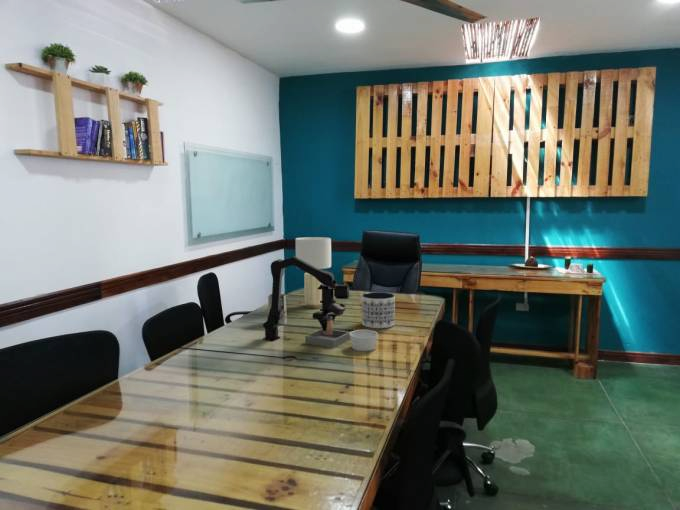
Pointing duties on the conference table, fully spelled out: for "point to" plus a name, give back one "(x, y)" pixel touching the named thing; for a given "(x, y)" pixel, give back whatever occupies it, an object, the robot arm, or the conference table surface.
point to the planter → (378, 310)
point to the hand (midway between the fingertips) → (327, 329)
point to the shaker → (329, 326)
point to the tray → (327, 338)
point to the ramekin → (363, 340)
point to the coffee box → (282, 305)
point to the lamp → (318, 256)
